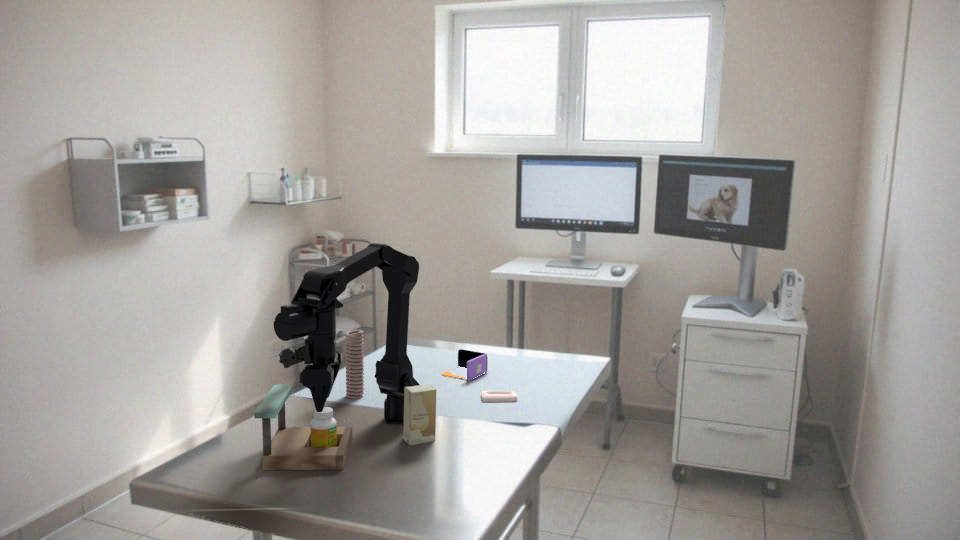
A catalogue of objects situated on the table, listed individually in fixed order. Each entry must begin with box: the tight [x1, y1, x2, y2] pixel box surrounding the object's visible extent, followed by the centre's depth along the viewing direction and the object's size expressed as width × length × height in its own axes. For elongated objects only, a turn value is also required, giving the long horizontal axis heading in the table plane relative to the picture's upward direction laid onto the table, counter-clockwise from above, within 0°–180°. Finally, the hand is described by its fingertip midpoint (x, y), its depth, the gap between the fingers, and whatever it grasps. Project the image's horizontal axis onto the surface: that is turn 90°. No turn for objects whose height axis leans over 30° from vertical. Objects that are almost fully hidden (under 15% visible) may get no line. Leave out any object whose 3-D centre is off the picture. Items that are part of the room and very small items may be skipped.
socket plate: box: [253, 384, 353, 471], centre depth 154 cm, size 17×18×12 cm
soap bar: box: [480, 390, 519, 403], centre depth 191 cm, size 5×9×2 cm, turn 93°
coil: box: [344, 329, 365, 400], centre depth 190 cm, size 5×5×18 cm
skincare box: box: [402, 384, 437, 446], centre depth 162 cm, size 6×4×12 cm
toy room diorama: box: [440, 348, 488, 382], centre depth 211 cm, size 12×12×7 cm
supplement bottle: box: [310, 406, 338, 447], centre depth 154 cm, size 5×5×10 cm
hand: (322, 404), depth 153 cm, fingers open, 9 cm apart
